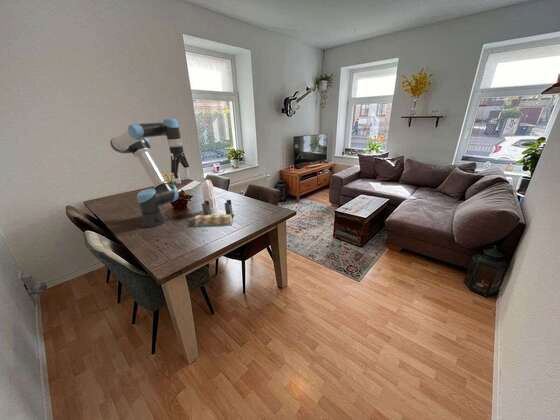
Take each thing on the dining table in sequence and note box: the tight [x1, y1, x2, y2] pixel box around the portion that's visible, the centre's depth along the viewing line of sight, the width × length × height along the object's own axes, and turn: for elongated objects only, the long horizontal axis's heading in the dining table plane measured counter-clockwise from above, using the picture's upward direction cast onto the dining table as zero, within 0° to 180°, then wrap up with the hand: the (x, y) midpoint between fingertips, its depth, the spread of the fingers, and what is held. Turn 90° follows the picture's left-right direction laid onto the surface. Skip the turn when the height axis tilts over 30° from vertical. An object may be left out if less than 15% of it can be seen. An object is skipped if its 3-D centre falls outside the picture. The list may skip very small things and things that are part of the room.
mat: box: [193, 219, 234, 227], centre depth 152 cm, size 26×7×1 cm, turn 89°
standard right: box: [224, 199, 235, 220], centre depth 158 cm, size 5×7×12 cm
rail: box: [194, 214, 233, 225], centre depth 151 cm, size 24×4×5 cm, turn 89°
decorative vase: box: [201, 179, 220, 215], centre depth 167 cm, size 11×11×25 cm
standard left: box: [201, 201, 212, 215], centre depth 158 cm, size 5×7×12 cm
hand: (183, 180), depth 143 cm, fingers open, 13 cm apart
